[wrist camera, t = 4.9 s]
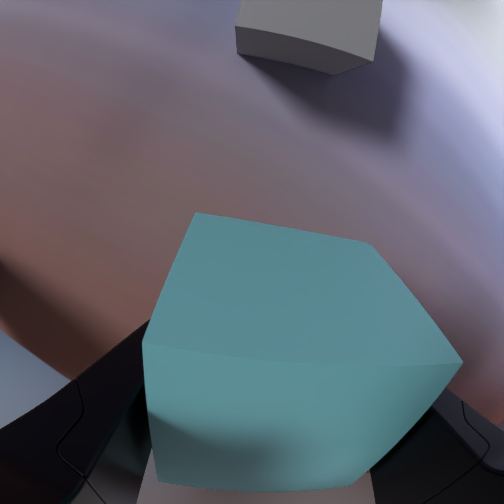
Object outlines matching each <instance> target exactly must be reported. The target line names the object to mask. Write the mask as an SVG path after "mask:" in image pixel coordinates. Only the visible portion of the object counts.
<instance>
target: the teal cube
mask: <svg viewBox="0 0 504 504" xmlns="http://www.w3.org/2000/svg"><path fill="white" fill-rule="evenodd" d="M142 350H143V367H144V380H145V391H146V402H147V411H148V419H149V427H150V435H151V442H152V449H153V455H154V461H155V467H156V473H157V478H158V481H159V482H164V483H171V484H176V485H183V486H190V487H197V488H206V489H216V490H229V491H252V492H283V491H284V492H285V491H307V490H318V489H330V488H338V487H346V486H350V485H351V484H353V483H354V482H355V481H356V480H358V479H359V478H360V477H361V476H362V475H363V474H365V473H366V472H367V471H368V470H369V469H370V468H371V467H372V466H374V465H375V464H376V463H377V462H378V461H379V460H380V459H381V458H382V457H383V456H384V455H385V454H386V453H387V452H388V451H389V450H391V449H392V448H393V447H394V446H395V445H396V444H397V443H398V441H399V440H400V439H401V438H402V437H403V436H404V435H405V434H406V433H407V432H408V431H409V430H410V429H411V428H412V427H413V426H414V424H415V423H416V422H417V421H418V420H419V419H420V418H421V417H422V415H423V414H424V413H425V412H426V411H427V410H428V408H429V407H430V406H431V405H432V404H433V402H434V401H435V400H436V399H437V397H438V396H439V395H440V394H441V392H442V391H443V390H444V389H445V387H446V386H447V385H448V383H449V382H450V381H451V379H452V378H453V377H454V375H455V374H456V372H457V371H458V370H459V368H460V367H461V365H462V364H463V361H462V359H461V358H460V357H459V355H458V354H457V352H456V351H455V349H454V348H453V347H452V345H451V344H450V342H449V341H448V340H447V338H446V337H445V336H444V334H443V333H442V332H441V330H440V329H439V327H438V326H437V325H436V324H435V322H434V321H433V320H432V318H431V317H430V316H429V314H428V313H427V312H426V310H425V309H424V308H423V307H422V305H421V304H420V303H419V302H418V300H417V299H416V298H415V297H414V295H413V294H412V293H411V292H410V290H409V289H408V288H407V287H406V285H405V284H404V283H403V282H402V281H401V279H400V278H399V277H398V276H397V275H396V273H395V272H394V271H393V270H392V269H391V268H390V266H389V265H388V264H387V263H386V262H385V261H384V259H383V258H382V257H381V256H380V255H379V254H378V252H377V251H376V250H375V249H374V248H373V247H372V246H371V245H370V243H366V242H361V241H356V240H350V239H345V238H340V237H335V236H330V235H324V234H319V233H314V232H308V231H303V230H297V229H292V228H286V227H281V226H275V225H269V224H264V223H258V222H252V221H246V220H240V219H234V218H228V217H222V216H216V215H209V214H203V213H197V212H196V213H195V215H194V217H193V219H192V221H191V224H190V226H189V228H188V230H187V233H186V235H185V237H184V239H183V242H182V244H181V246H180V249H179V251H178V253H177V255H176V258H175V260H174V263H173V265H172V267H171V270H170V272H169V274H168V277H167V279H166V282H165V284H164V287H163V289H162V291H161V294H160V296H159V299H158V301H157V304H156V307H155V309H154V312H153V314H152V317H151V319H150V322H149V325H148V327H147V330H146V333H145V335H144V338H143V341H142Z"/></svg>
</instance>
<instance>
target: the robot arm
mask: <svg viewBox="0 0 504 504" xmlns="http://www.w3.org/2000/svg"><path fill="white" fill-rule="evenodd" d="M149 322H150V319H149V320H148V321H147V322H145V323H144V324H143V325H142V326H140V327H139V328H138V329H137V330H135V331H134V332H133V333H131V334H130V335H129V336H128V337H126V338H125V339H124V340H123V341H121V342H120V343H119V344H118V345H116V346H115V347H114V348H112V349H111V350H110V351H109V352H107V353H106V354H105V355H104V356H102V357H101V358H100V359H99V360H97V361H96V362H95V363H94V364H92V365H91V366H90V367H89V368H87V369H86V370H85V371H84V372H82V373H81V374H80V375H79V376H77V377H76V379H73V380H72V381H71V382H70V383H68V384H67V385H66V386H65V387H63V388H62V389H61V390H59V391H58V392H57V393H56V394H54V395H53V396H51V397H50V398H49V399H47V400H46V401H45V402H43V403H41V404H40V405H38V406H37V407H35V408H34V409H32V410H31V411H29V412H27V413H26V414H24V415H23V416H21V417H19V418H18V419H16V420H14V421H13V422H11V423H9V424H8V425H6V426H4V427H3V428H1V429H0V504H136V503H137V498H138V495H139V491H140V488H141V484H142V480H143V476H144V473H145V469H146V466H147V462H148V459H149V455H150V452H151V448H152V442H151V435H150V427H149V419H148V411H147V402H146V391H145V380H144V367H143V350H142V341H143V338H144V335H145V333H146V330H147V327H148V325H149ZM370 474H371V479H372V485H373V491H374V497H375V503H376V504H504V430H502V429H501V428H499V427H498V426H496V425H495V424H493V423H492V422H491V421H489V420H488V419H486V418H485V417H483V416H482V415H481V414H479V413H478V412H477V411H475V410H474V409H473V408H471V407H470V406H469V405H468V404H466V403H465V402H464V401H461V399H460V398H459V397H457V396H456V395H455V394H454V393H452V392H451V391H450V390H448V389H447V388H446V387H445V389H444V390H443V391H442V392H441V394H440V395H439V396H438V397H437V399H436V400H435V401H434V402H433V404H432V405H431V406H430V407H429V408H428V410H427V411H426V412H425V413H424V414H423V415H422V417H421V418H420V419H419V420H418V421H417V422H416V423H415V424H414V426H413V427H412V428H411V429H410V430H409V431H408V432H407V433H406V434H405V435H404V436H403V437H402V438H401V439H400V440H399V441H398V443H397V444H396V445H395V446H394V447H393V448H392V449H391V450H389V451H388V452H387V453H386V454H385V455H384V456H383V457H382V458H381V459H380V460H379V461H378V462H377V463H376V464H375V465H374V466H372V467H371V468H370Z"/></svg>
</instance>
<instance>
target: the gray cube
mask: <svg viewBox="0 0 504 504" xmlns="http://www.w3.org/2000/svg"><path fill="white" fill-rule="evenodd" d="M382 2H383V0H241V4H240V8H239V12H238V16H237V20H236V25H235V31H236V45H237V54H243V55H249V56H255V57H260V58H265V59H270V60H275V61H280V62H285V63H289V64H293V65H297V66H301V67H305V68H309V69H313V70H317V71H320V72H324V73H327V74H331V75H334V76H335V75H338V74H340V73H343V72H346V71H348V70H351V69H354V68H356V67H359V66H362V65H365V64H368V63H370V62H373V60H374V54H375V49H376V43H377V37H378V30H379V24H380V17H381V9H382Z"/></svg>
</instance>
